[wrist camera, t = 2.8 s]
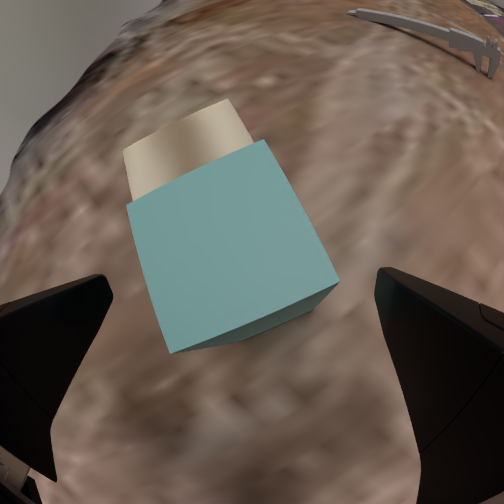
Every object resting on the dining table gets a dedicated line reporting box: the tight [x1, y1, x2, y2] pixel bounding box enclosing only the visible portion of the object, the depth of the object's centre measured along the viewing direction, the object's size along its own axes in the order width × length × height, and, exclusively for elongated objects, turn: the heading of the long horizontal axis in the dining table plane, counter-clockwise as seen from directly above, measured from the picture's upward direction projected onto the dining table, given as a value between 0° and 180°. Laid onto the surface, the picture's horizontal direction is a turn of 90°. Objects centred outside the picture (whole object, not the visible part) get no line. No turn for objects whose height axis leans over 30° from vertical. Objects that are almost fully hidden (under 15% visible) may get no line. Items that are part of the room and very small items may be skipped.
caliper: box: [347, 8, 501, 78], centre depth 21 cm, size 21×1×6 cm, turn 60°
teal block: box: [126, 139, 340, 354], centre depth 13 cm, size 5×5×11 cm
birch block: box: [123, 99, 254, 201], centre depth 20 cm, size 9×9×4 cm
